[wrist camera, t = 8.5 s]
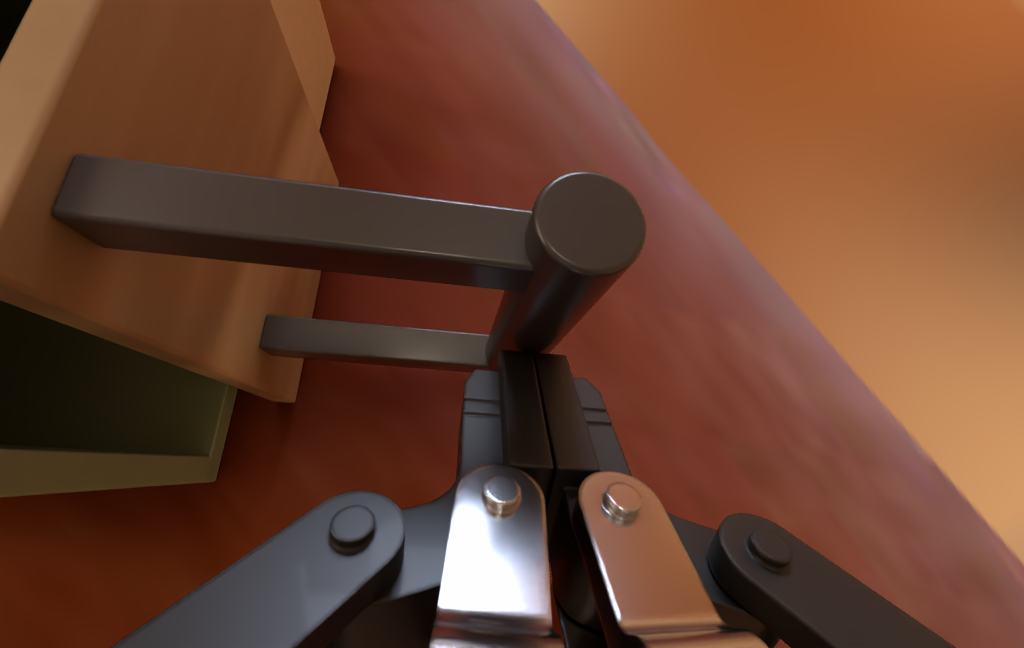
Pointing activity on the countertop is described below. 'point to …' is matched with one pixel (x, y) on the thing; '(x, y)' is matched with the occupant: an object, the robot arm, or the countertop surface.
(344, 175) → the countertop surface
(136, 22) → the brown panel dark handle
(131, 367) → the cabinet
